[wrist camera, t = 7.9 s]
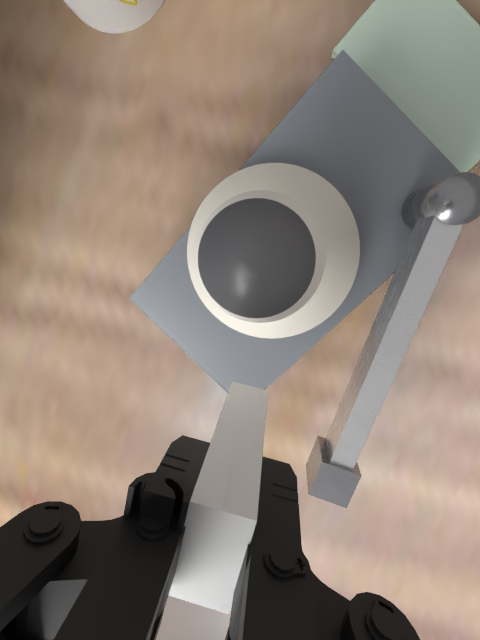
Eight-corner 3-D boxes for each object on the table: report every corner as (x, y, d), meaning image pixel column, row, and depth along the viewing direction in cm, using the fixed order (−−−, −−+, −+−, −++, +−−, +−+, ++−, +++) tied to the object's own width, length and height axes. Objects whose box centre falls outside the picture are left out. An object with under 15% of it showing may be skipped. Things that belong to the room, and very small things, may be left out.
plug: (184, 255, 24) (49, 264, 10) (274, 153, 22) (252, -7, 8) (274, 343, 25) (257, 462, 11) (371, 252, 22) (504, 256, 9)
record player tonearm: (304, 449, 21) (308, 494, 17) (410, 185, 17) (446, 166, 13) (335, 459, 21) (346, 508, 17) (449, 196, 17) (497, 180, 13)
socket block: (159, 288, 26) (128, 298, 21) (330, 94, 21) (342, 49, 16) (252, 379, 26) (243, 408, 21) (438, 206, 22) (481, 193, 17)
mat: (331, 57, 21) (333, 49, 20) (409, -34, 19) (414, -46, 19) (452, 182, 21) (458, 180, 21) (536, 103, 20) (546, 97, 19)
